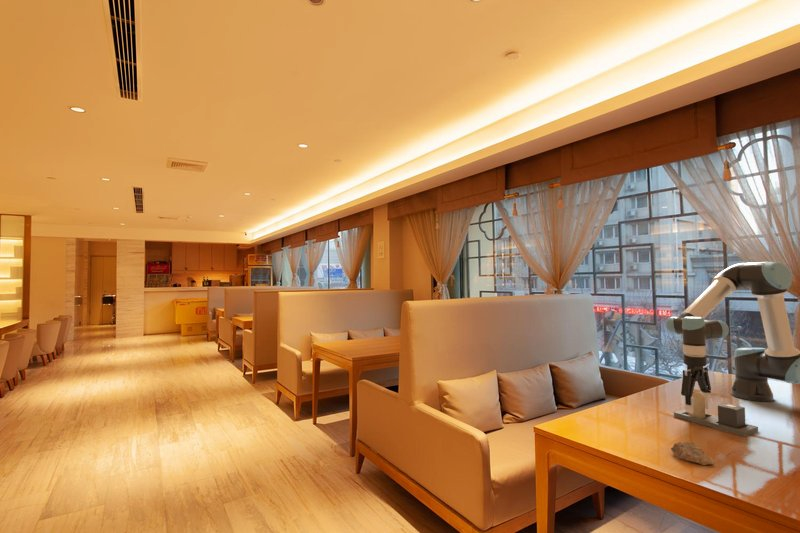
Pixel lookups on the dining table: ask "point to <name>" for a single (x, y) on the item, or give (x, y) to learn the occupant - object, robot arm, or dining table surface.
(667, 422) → the dining table surface
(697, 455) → the rock
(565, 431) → the dining table surface
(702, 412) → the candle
